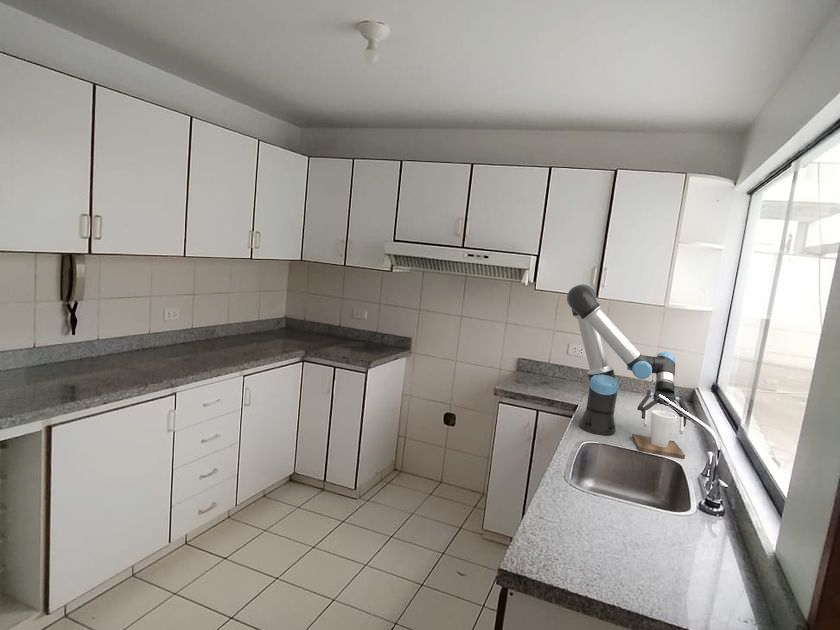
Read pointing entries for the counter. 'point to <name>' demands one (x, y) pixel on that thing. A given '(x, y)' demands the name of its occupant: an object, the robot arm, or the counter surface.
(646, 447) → the walnut board
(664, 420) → the foam cup
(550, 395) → the counter surface
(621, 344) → the robot arm
